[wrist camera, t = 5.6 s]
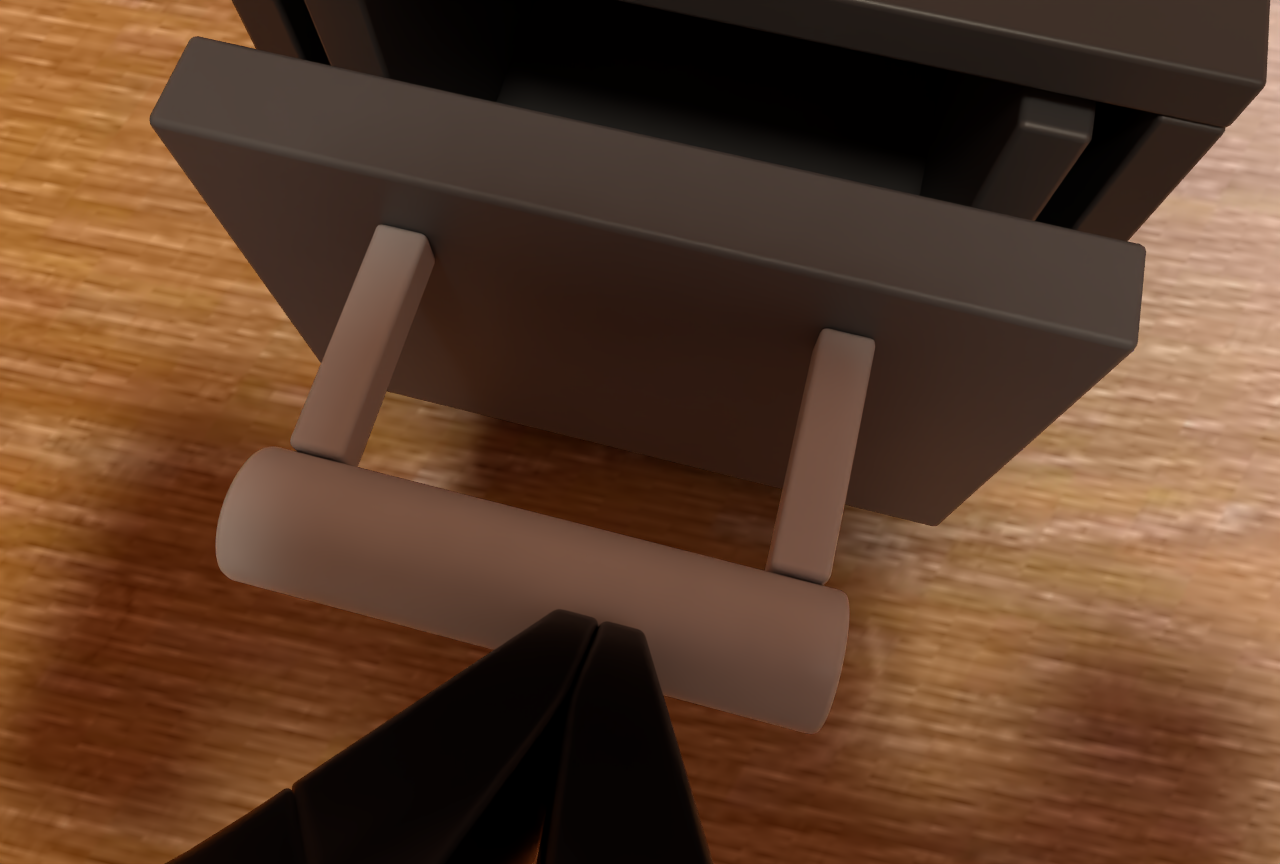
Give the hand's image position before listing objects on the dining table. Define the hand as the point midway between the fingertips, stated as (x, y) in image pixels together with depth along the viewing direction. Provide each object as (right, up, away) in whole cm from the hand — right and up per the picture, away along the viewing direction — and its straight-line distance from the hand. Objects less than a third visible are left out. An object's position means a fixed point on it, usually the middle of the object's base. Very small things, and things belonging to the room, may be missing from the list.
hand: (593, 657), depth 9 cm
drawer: (+1, +5, +8) cm, 10 cm away
